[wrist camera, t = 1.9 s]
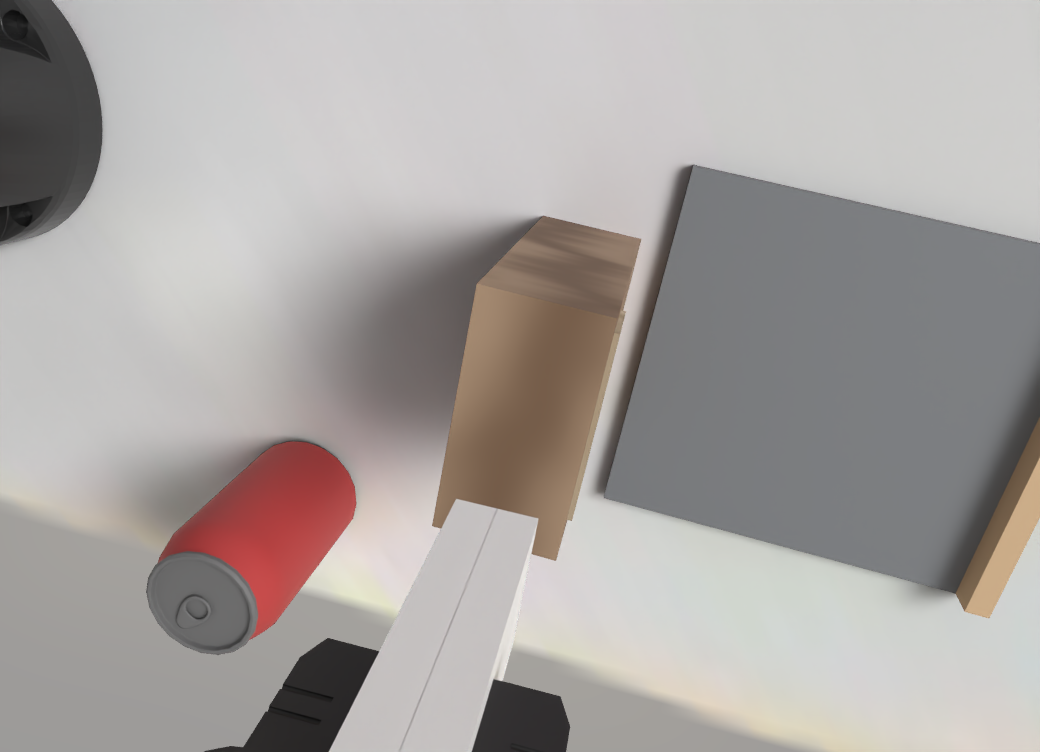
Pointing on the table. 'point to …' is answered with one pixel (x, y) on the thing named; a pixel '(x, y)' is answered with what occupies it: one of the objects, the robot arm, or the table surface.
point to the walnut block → (537, 375)
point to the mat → (842, 385)
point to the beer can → (251, 548)
